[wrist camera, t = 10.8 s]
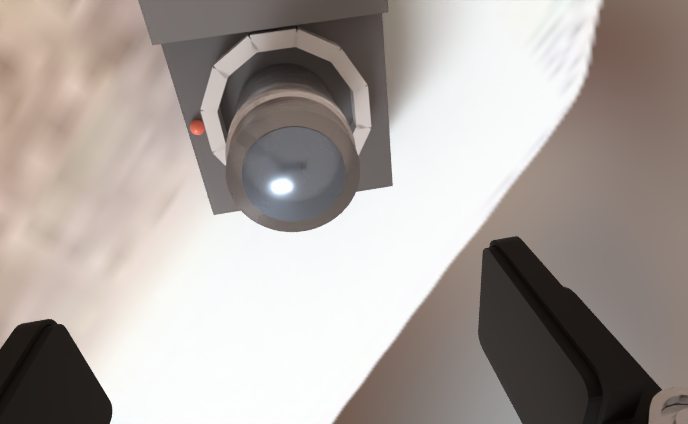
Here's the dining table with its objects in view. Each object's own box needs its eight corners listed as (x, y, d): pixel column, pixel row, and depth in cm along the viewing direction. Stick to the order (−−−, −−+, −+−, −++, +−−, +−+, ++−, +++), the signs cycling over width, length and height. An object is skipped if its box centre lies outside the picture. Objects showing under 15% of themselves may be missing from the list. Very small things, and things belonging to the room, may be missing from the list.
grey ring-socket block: (161, -53, 25) (115, -58, 18) (355, -77, 25) (385, -91, 18) (223, 173, 32) (209, 233, 25) (373, 149, 32) (400, 201, 25)
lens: (222, 69, 22) (203, 121, 15) (329, 52, 23) (356, 95, 16) (248, 166, 25) (240, 247, 18) (342, 150, 26) (370, 223, 19)
